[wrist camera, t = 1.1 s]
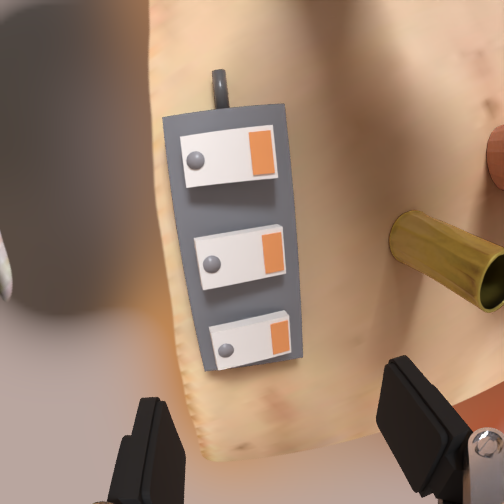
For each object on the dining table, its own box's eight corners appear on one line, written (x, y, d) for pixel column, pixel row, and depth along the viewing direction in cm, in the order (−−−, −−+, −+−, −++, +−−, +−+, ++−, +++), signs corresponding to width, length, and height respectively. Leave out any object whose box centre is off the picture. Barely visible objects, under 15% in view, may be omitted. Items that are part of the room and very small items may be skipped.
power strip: (164, 81, 26) (157, 71, 22) (272, 69, 27) (280, 57, 23) (205, 352, 34) (204, 374, 31) (295, 339, 35) (304, 360, 31)
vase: (439, 241, 34) (525, 284, 20) (402, 273, 34) (482, 332, 21) (418, 199, 32) (513, 228, 18) (379, 232, 33) (465, 280, 19)
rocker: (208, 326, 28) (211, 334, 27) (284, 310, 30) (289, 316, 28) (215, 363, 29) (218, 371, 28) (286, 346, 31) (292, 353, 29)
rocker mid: (193, 238, 26) (195, 242, 24) (277, 224, 27) (283, 226, 26) (201, 284, 27) (203, 291, 25) (281, 269, 28) (286, 274, 27)
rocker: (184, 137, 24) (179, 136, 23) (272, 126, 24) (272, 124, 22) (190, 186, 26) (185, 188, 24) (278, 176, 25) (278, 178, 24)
